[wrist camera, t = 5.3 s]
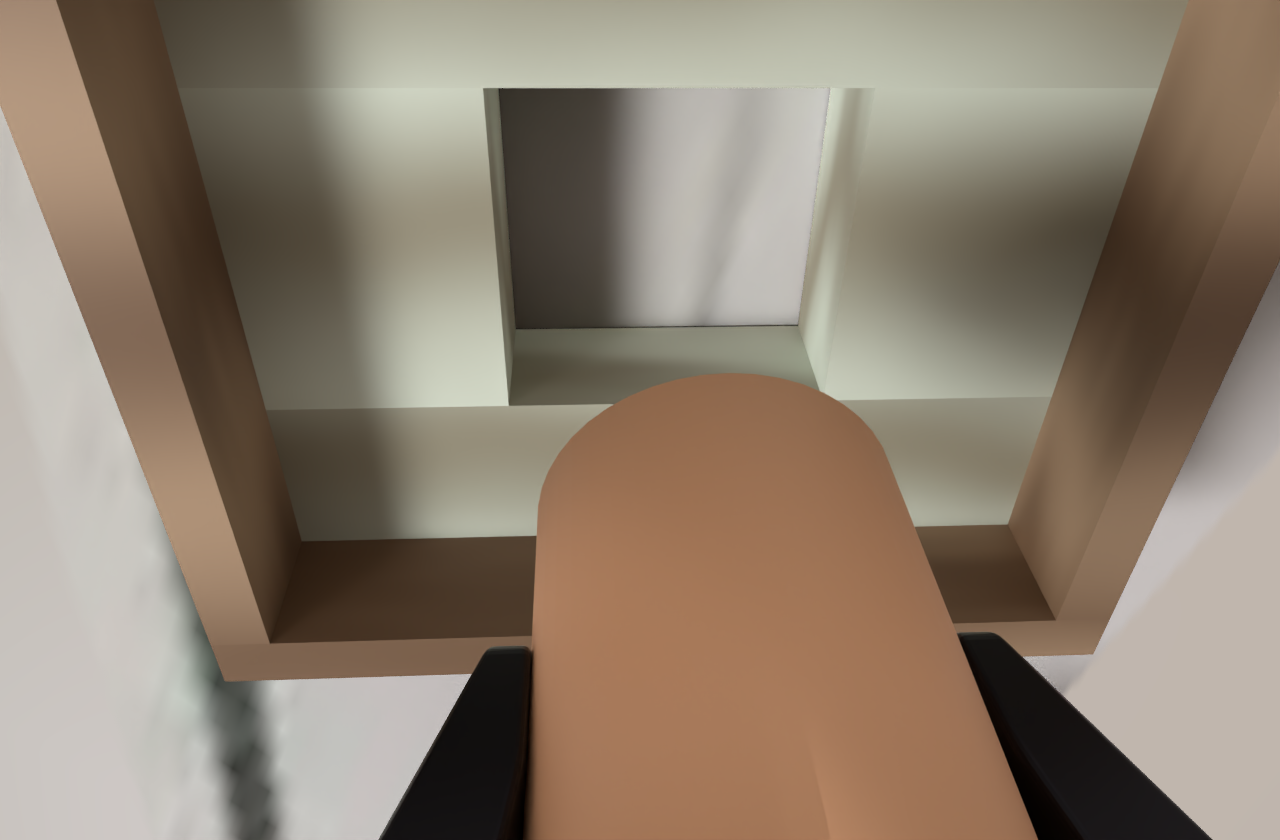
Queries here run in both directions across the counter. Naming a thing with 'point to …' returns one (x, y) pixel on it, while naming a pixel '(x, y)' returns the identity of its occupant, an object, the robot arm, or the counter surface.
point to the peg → (747, 635)
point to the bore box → (639, 357)
